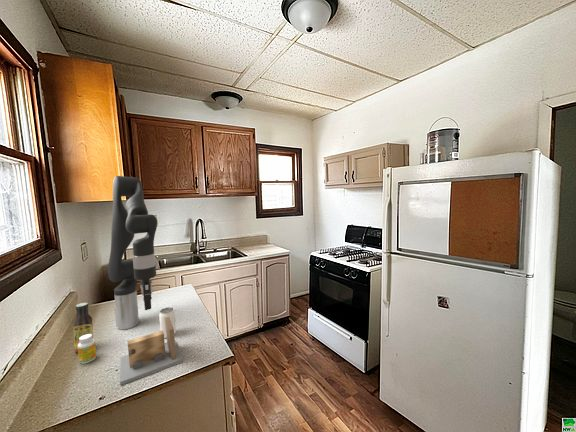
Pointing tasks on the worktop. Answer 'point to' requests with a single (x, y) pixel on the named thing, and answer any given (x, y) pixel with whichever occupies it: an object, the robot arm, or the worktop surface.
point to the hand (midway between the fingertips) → (147, 305)
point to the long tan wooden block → (146, 347)
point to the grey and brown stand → (153, 365)
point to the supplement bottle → (86, 349)
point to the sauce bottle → (82, 323)
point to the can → (163, 314)
